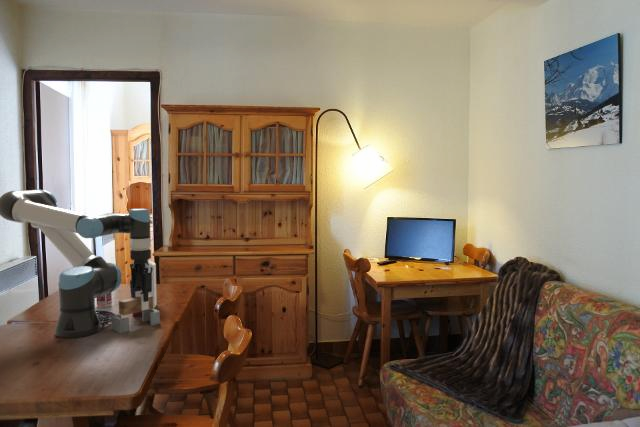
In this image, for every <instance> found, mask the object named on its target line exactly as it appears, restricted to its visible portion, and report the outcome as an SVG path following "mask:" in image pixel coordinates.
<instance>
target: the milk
mask: <svg viewBox="0 0 640 427" xmlns="http://www.w3.org/2000/svg"><path fill="white" fill-rule="evenodd" d="M148 264H149V267H152V268H153V270H152V292H149V293H148V295H150V296H153V309H156V306H157V264H156V262H154V261H152V260H150V259H148ZM143 274H144V273H143Z"/></svg>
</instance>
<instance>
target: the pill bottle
mask: <svg viewBox="0 0 640 427" xmlns="http://www.w3.org/2000/svg"><path fill="white" fill-rule="evenodd" d="M112 295H113V294H112V292H111V293H109V294H105V295H103V296H100V297H97V298H96V307H98V308H107V307H111V306H112V304H113V299H112Z"/></svg>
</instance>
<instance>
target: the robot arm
mask: <svg viewBox="0 0 640 427" xmlns="http://www.w3.org/2000/svg"><path fill="white" fill-rule="evenodd" d="M57 202H58V201H57V198H56V197H55V196H54V194H53V193H51V192H50V191H48V190H44V189H30V190H29V189H28V190H11V191H7V192H6V193H5V192H4V193H3V194H2V195H1V196H0V216H1V217H2V218H3V219H4V220H7V221H10V222H15V223H18V224H19V223H20V224H23V223H28V224H29V225H30V226H31V227H32V228H34V229H39V230H40V231H41V232H42V233H43V234H44V235H45V237H46V238H47V239H48V240H49V241H50V242H51V244H52V245H54V246H55V248H56V249H57V250H58V251H59V252H60V253H61V255H63V257H65V258H66V260H67V261H68V262H69V263H70V265H71V266H72V267H71V268H68V269H65V270H63V271H62V272H61V273H60V274H59V277H58V278H59V279H58V280H59V281H58V290H59V291H58V292H59V315H58V318H57V321H56V325H55V329H54V330H55V333H54V334H55V336H57V337H58V338H63V339H64V338H67V339H69V338H70V339H71V338H73V339H74V338H75V339H76V338H81V337H87V336H91V335H94V334H97V333H98V332H100V331H101V321H100V319H99V316H98V314H97V310H96V300H95V299H97V297H100V296H103V295H105V294H109V293H111V294H112V292H114V291H116V290H117V289H119V288H120V286H121V283H122V277H123V275H122V271H121V268H120V267H119V266H118V265H117V264H115V263H112V262H107V261H106V260H105V259H104V258H103V257H102V256H101V255H100V256H99V255H95V254H94V253H93V252H92V250H90V249H89V248H88V246H87V244H85V243H84V242H83V241H82V239H80V238H79V236H80V237H82V238H83V239H96V238H98V237H102V236H109V235H113V234H129V248H130V249H131V250H130V251H129V252H130V260H132V261H133V263H130V264H129V267H130V279H131V280H132V289H134V291H135V297H140V296H141V310H147V309H149V300H148V293H149V292H152V270H153V268H152V267H149V264H148V259H149V260H150V259H151V258H152V250H151V243H152V239H151V214H150V209H147V208H131V209H129V212H128V213H117V212H116V213H115V212H109V213H104V214H102V215H92V214H88V213H83V212H79V211H75V210H69V209H66V208H61V207H58V204H57ZM77 234H78V235H79V236H78V235H77ZM143 273H144V274H143ZM140 290H141V291H140Z"/></svg>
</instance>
